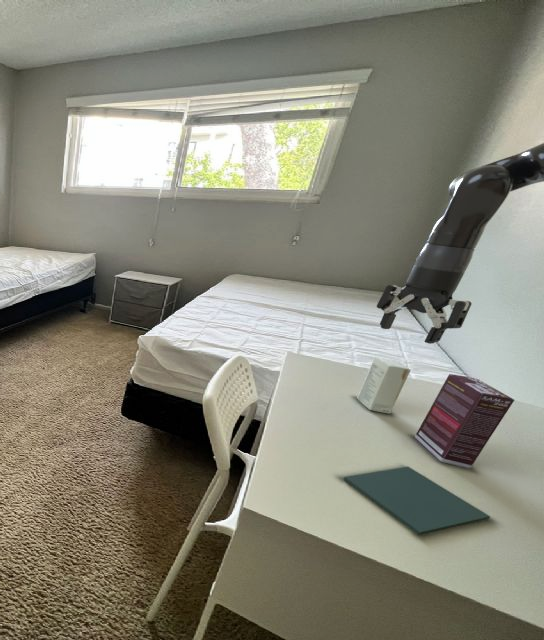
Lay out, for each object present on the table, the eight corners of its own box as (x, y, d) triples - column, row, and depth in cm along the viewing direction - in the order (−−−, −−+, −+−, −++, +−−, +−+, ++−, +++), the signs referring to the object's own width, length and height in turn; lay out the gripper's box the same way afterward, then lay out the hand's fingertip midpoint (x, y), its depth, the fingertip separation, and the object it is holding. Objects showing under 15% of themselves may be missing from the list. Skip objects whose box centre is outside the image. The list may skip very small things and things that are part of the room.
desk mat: (406, 468, 66) (408, 466, 66) (488, 519, 56) (490, 516, 56) (343, 479, 62) (344, 476, 62) (418, 535, 53) (420, 532, 52)
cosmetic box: (390, 414, 84) (413, 370, 80) (368, 410, 85) (390, 366, 81) (375, 401, 90) (395, 358, 86) (355, 397, 91) (374, 355, 87)
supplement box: (472, 470, 67) (517, 400, 62) (440, 462, 69) (481, 393, 63) (440, 442, 75) (478, 378, 69) (412, 436, 76) (447, 372, 71)
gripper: (498, 275, 70) (457, 348, 75) (411, 260, 83) (382, 324, 88) (473, 274, 68) (433, 349, 73) (388, 259, 81) (360, 324, 86)
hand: (405, 335), depth 81 cm, fingers open, 8 cm apart
